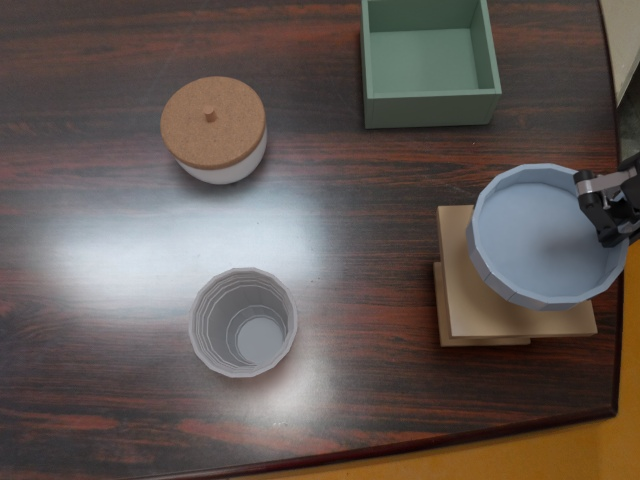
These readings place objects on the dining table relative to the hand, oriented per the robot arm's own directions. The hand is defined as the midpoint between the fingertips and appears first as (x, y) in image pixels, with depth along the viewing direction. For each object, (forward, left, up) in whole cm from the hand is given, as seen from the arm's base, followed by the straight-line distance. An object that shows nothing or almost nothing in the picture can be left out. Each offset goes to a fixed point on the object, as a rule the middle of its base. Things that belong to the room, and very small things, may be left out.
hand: (611, 236), depth 44 cm
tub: (+10, -33, -21) cm, 41 cm away
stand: (+6, 0, -21) cm, 22 cm away
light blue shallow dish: (+6, 0, -1) cm, 6 cm away
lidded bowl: (+37, -21, -22) cm, 47 cm away
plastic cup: (+32, +4, -22) cm, 38 cm away
